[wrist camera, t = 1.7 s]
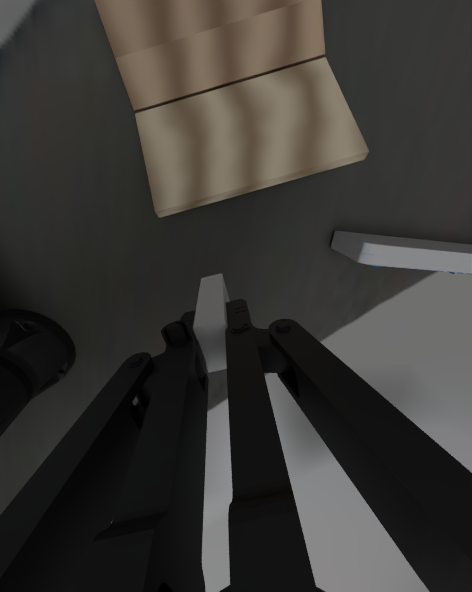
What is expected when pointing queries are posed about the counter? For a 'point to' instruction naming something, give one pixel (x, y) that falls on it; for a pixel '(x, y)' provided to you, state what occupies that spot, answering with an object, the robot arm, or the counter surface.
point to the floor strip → (206, 43)
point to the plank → (247, 137)
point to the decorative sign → (404, 252)
